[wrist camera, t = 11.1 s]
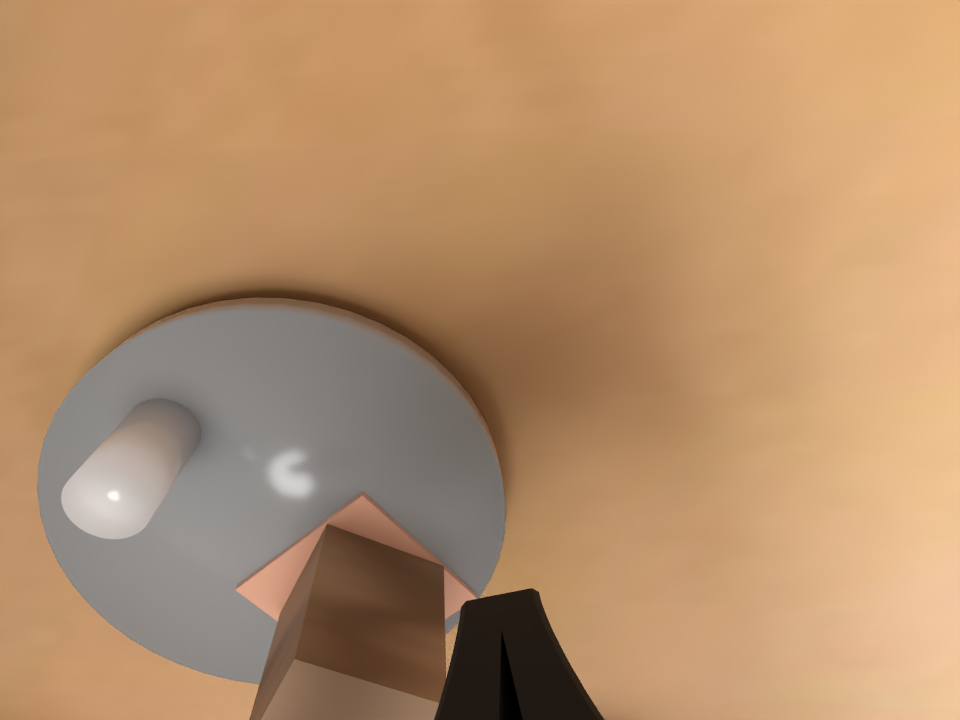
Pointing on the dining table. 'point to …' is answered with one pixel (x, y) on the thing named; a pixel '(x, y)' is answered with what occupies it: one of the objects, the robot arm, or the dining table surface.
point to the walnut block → (357, 636)
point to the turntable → (259, 472)
